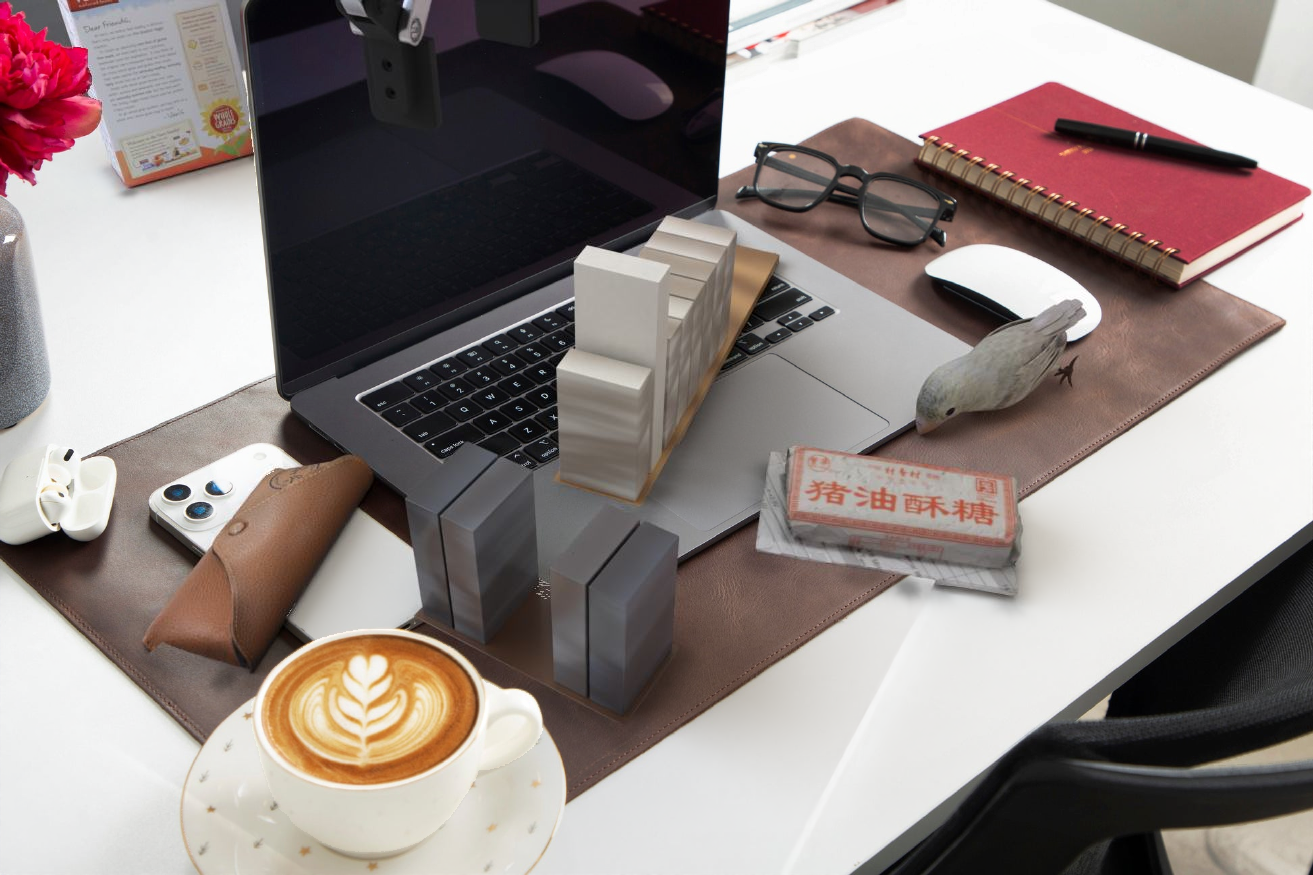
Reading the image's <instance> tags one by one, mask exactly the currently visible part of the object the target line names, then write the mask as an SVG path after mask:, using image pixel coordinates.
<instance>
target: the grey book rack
mask: <svg viewBox="0 0 1313 875" xmlns="http://www.w3.org/2000/svg"><path fill="white" fill-rule="evenodd" d="M404 501H405V502H404V503H405V507H406V508H405V510H406V514H407V520H408V527H409V532H410V539H411V545H412V552H413V558H414V564H415V569H416V577H417V582H418V590H419V595H420V601H421V607H420V609H419V610H417V612H416V613H415V614H414V615H413V617H414V618H416V619H417V620H420V621H422V622H423V623H425V624H427V625H429V626H430V627H433V628H435V629H437V630H439V631H441V632H443V633H444V634H447V635H448V636H450V637H452V638H454V639H455V640H458V641H460V642H461V643H463V644H465V645H466V646H467V645H468V646H469V647H471V648H473V649H474V650H477V651H479V652H481V653H483V654H484V655H486V656H488V657H490V658H492V659H494V660H496V661H497V662H500V663H502V664H503V665H505V666H507V667H510V668H511V669H513V670H515V671H517V672H519V673H521V674H522V675H524V676H526V677H528V678H530V679H532V680H534V681H535V682H538V683H540V684H542V685H544V686H546V687H547V688H549V689H551V690H553V691H555V692H557V693H559V694H561V695H562V696H565V697H566V698H568V699H570V700H572V701H573V702H575V703H578V704H579V705H582V706H584V707H586V708H587V709H590V710H591V711H593V712H595V713H596V714H598V715H601V716H603V717H605V718H607V719H608V720H610V721H613V722H614V723H616V724H618V725H620V726H622V727H625V726H626V725H627V724H628V722H629V721H630V720H631V718H632V717H633V716H634V714H635V713H636V712H637V710H638V708H639V707H640V706H641V704H642V703H643V701H644V700H645V699H646V697H647V696H648V695H649V693H650V692H651V690H652V688H653V687H654V686H655V684H656V683H657V681H658V680H659V679H660V678H661V677H662V675H663V673H664V672H665V670H666V669H667V667H668V666H669V665H670V663H671V662H672V660H673V659H674V658H675V656H676V655H677V654H678V652H679V651H680V649H681V648H682V646H681V645H679V644H677V643H674V642H673V635H674V634H673V633H674V622H675V621H674V620H675V604H676V591H677V590H676V589H677V576H678V563H679V562H678V560H679V547H680V535H678V534H675V533H674V532H671V531H669V530H667V529H664V528H662V527H660V526H658V525H656V524H653V523H651V522H649V521H647V520H643V521H642V522H641V518H640V517H638V516H636V515H633V514H631V513H629V512H626V511H624V510H622V509H620V508H618V507H615V506H614V505H610V504H608V503H605V504H604V505H603V507H602V508H601V509H600V510H599V511H598V512H597V513H596V515H595V516H594V517H592V519H591V520H590V521H589V522H588V524H587V525H586V526H585V527H584V528H583V529H582V530H581V532H580V533H579V534H578V535H577V536H576V537H575V538H574V540H572V541H571V543H570V544H569V545H568V546H567V547H566V548H565V550H564V551H563V552H562V553H561V554H560V555H559V557H557V558H556V559H555V561H554V562H553V563H552V565H550V566H549V568H548V569H549V581H547V583H548V582H549V583H550V584H546V583H539V582H543V581H541V580H542V579H543V578H541V579H540V580H539V578H540V576H539V573H540V572H539V558H538V539H537V536H538V535H537V520H536V518H537V517H536V499H535V482H534V470H532V469H530V468H529V467H526V466H524V465H523V464H522V465H521V464H519V463H517V462H515V461H513V460H510V459H508V458H505V457H504V456H500V457H499V455H498V454H497V453H495V452H492V451H490V450H488V449H487V448H483V447H482V446H479V445H476V444H475V443H472V442H471V441H465V443H463V444H462V445H461V446H460V447H459V448H458V449H457V450H456V451H455V452H454V453H452V454H451V456H449V457H448V458H447V459H446V460H445V461H444V462H443V463H442V464H440V465H439V467H437V468H436V469H435V470H434V471H433V472H432V473H431V474H430V475H429V476H427V477H426V478H425V480H424V481H422V482H421V483H420V484H419V485H418V486H417V487H416V488H415V489H413V491H411V493H409V494H408V495H407V496H406V497H405V498H404ZM539 584H543V585H550V586H541V585H539ZM537 586H539V587H537ZM535 588H536V589H535ZM546 589H548V590H550V591H548V590H546ZM540 591H544V592H543V593H542V592H540ZM536 593H541V594H542V595H538V594H536ZM546 594H548V595H546ZM541 596H545V597H541ZM548 596H550V597H548ZM544 598H547V599H544Z"/></svg>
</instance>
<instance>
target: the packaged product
mask: <svg viewBox="0 0 1313 875" xmlns="http://www.w3.org/2000/svg"><path fill="white" fill-rule="evenodd" d="M764 480H765V481H764V489H763V493H762V499H761V503H760V510H759V520H758V525H757V533H756V539H755V540H756V541H755V553H756V552H757V553H763V554H768V555H774V556H779V557H784V558H789V559H796V560H802V561H810V562H816V563H822V564H832V565H836V566H843V567H851V568H858V569H865V570H871V571H878V572H883V573H887V574H895V575H901V576H902V575H903V576H912V577H915V578H923V579H931V580H935V581H934V582H933V585H941V586H949V587H958V588H966V589H971V590H975V591H976V590H977V591H981V592H988V593H993V594H998V595H999V594H1000V595H1004V596H1005V595H1006V596H1011V597H1013V596H1015V595H1016V594H1017V593H1018V585H1017V582H1018V581H1017V567H1016V565H1017V564H1016V563H1017V561H1018V559H1019V558H1020V557H1021V554H1022V543H1021V539H1022V535H1023V531H1024V528H1023V523H1022V517H1021V514H1020V513H1019V506H1018V504H1019V496H1020V494H1019V493H1018V488H1019V484H1020V483H1019V480H1018V479H1017V478H1016V477H1014V476H1007V475H1002V474H996V473H989V472H985V471H976V470H972V469H971V470H970V469H962V468H955V467H950V466H940V465H936V464H930V463H922V462H916V461H910V460H909V461H907V460H900V459H898V458H897V459H896V458H885V457H880V456H873V455H861V454H857V453H850V452H843V451H837V450H826V449H823V448H818V447H809V446H805V445H801V446H800V445H793V446H789V447H787V451H786V453H785V452H780V451H776V450H772V451H770V452H769V457H768V461H767V465H766V470H765V479H764Z"/></svg>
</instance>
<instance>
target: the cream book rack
mask: <svg viewBox="0 0 1313 875" xmlns="http://www.w3.org/2000/svg"><path fill="white" fill-rule="evenodd" d="M737 240H738V230H733V229H730V228H726V227H725V228H724V227H721V226H716V225H711V224H706V223H703V222H699V221H694V220H689V219H685V218H680V217H675V216H672V215H666V216H665V217H664V219H663V220H662V222H661V223H660V224H659V226H658V227H657V228H656V230H655V231H654V232H653V234H652V235H651V236H650V238H649V239H648V241H647V242H646V243H645V244H644V247H642V249H640V251H639V253H638V254H637V255H636V257H638V258H642V259H647V260H651V261H655V262H659V263H663V264H668V265H671V273H670V293H669V314H668V334H667V354H666V374H665V395H664V415H663V435H662V455H661V457H660V459H659V461H658V463H657V464H656V466H655V468H654V470H653V471H652V473H648V455H649V429H650V403H651V378H652V369H649V368H646V367H642V366H638V365H634V364H630V363H627V362H623V361H619V360H615V359H611V358H607V357H604V356H600V355H596V354H592V353H588V352H585V351H581V350H577V349H575V348H573V347H570V348H569V350H568V351H567V352H566V353H565V355H564V356H563V358H562V359H561V361H560V362H559V363H558V365H557V366H556V395H557V396H556V399H557V426H558V457H559V460H558V461H559V469H558V471H557V472H556V474H555V475H554V477H553V479H552V482H554V483H557V482H558V484H561V485H565V486H567V487H571V488H573V489H574V488H575V489H578V488H579V489H578V490H581V491H585V492H588V493H591V494H594V495H598V496H601V497H605V498H608V499H612V500H616V501H620V502H621V503H622V502H623V503H626V504H629V505H633V506H636V507H639V508H641V507H642V506H643V504H644V502H645V500H646V498H647V496H648V495H649V492H650V491H651V489H652V487H653V486H654V483H656V480H657V479H658V477H659V475H660V473H661V471H662V470H663V467H664V465H665V464H666V462H667V460H668V458H669V456H670V455H671V453H672V451H673V449H674V447H675V446H680V444H681V442H682V441H683V439H684V437H685V435H686V433H687V431H688V430H689V428H690V426H691V424H692V422H693V421H694V419H695V417H696V415H697V413H698V411H699V410H700V408H701V406H702V404H703V403H704V400H705V399H706V397H707V395H708V393H709V392H710V389H711V387H712V386H713V384H714V382H715V381H716V379H717V377H718V375H719V373H720V371H721V370H722V367H723V366H724V364H725V362H726V361H727V358H728V357H729V355H730V353H731V351H732V349H733V347H734V346H735V343H736V342H737V340H738V338H739V336H740V334H741V333H742V331H743V329H744V327H745V325H746V324H747V322H748V321H749V318H750V316H751V315H752V313H753V311H754V309H755V307H756V306H757V303H758V302H759V301H760V298H761V296H762V294H763V292H764V291H765V289H766V287H767V285H768V283H769V282H770V279H771V278H772V276H773V274H774V273H775V271H776V269H777V267H778V265H779V263H780V254H779V253H775V252H770V251H766V250H761V249H757V248H753V247H749V246H744V245H740V244H737Z"/></svg>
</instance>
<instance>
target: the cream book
mask: <svg viewBox="0 0 1313 875" xmlns="http://www.w3.org/2000/svg"><path fill="white" fill-rule="evenodd" d="M670 273H671V265H668V264H663V263H659V262H655V261H651V260H647V259H642V258H638V257H637V256H634V255H629V254H625V253H622V252H617V251H613V250H609V249H605V248H600V247H595V246H591V245H586V246H585V247H584V248H583V249H582V251H581V252H580V253H579V255H578V256H577V257H576V258H575V260H574V261H573V280H574V281H573V285H574V290H573V291H574V330H575V331H574V336H575V337H574V340H575V341H574V342H575V343H574V344H575V346H574V347H575V348H574V349H577V350H581V351H585V352H588V353H592V354H596V355H600V356H604V357H607V358H611V359H615V360H619V361H623V362H627V363H630V364H634V365H638V366H642V367H646V368H649V369H652V378H651V403H650V429H649V455H648V473H652V471H653V470H654V468H655V466H656V464H657V463H658V461H659V459H660V457H661V455H662V435H663V415H664V395H665V374H666V354H667V334H668V314H669V293H670Z"/></svg>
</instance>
